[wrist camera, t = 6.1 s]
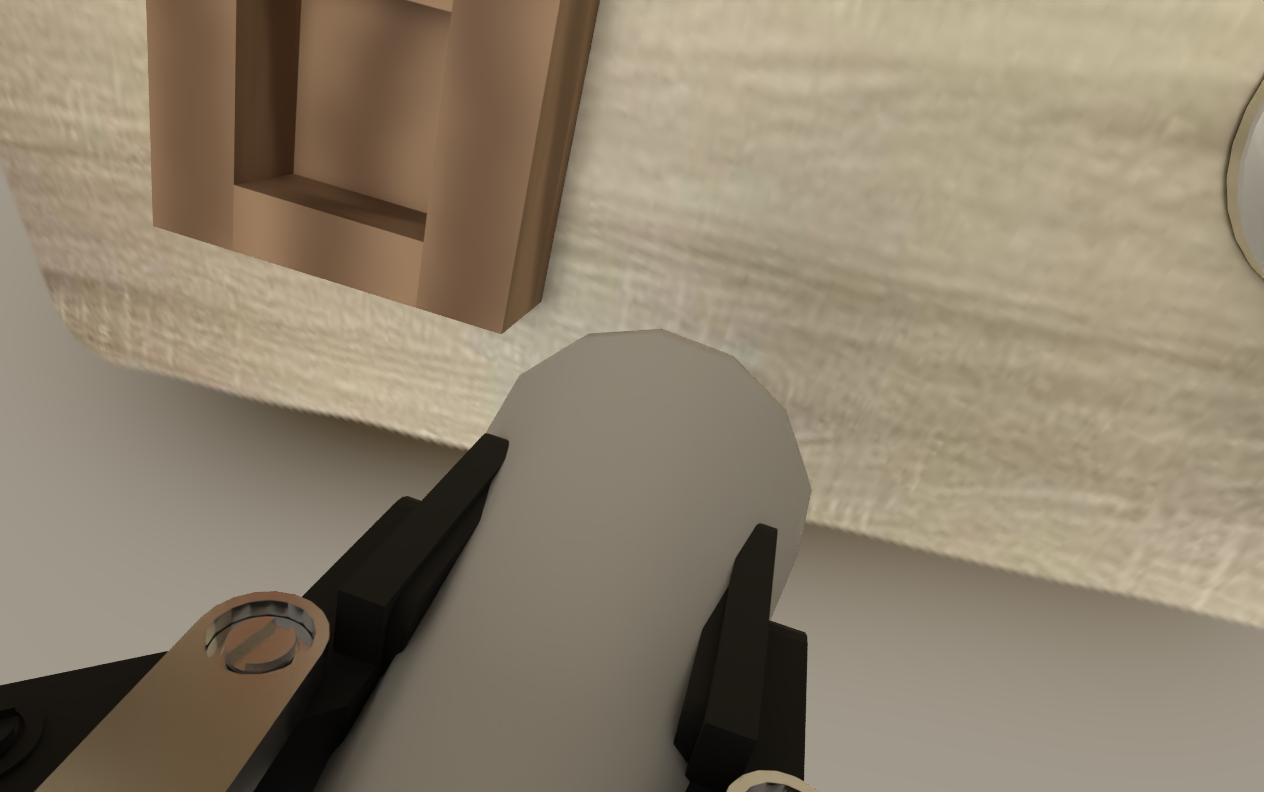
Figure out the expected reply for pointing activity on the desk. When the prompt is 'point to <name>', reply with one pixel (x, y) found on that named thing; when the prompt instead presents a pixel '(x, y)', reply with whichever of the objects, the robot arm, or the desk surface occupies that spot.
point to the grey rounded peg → (586, 578)
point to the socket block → (372, 140)
